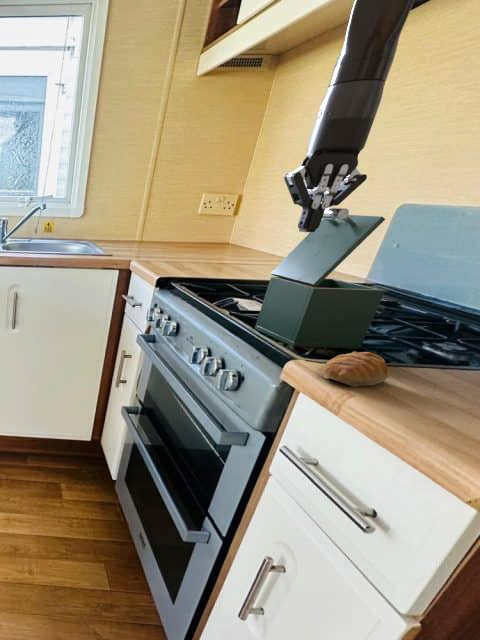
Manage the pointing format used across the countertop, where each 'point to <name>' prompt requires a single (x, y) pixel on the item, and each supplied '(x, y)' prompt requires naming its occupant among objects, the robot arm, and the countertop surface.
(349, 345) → the box
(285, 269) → the lid
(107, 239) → the countertop surface
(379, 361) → the pastry
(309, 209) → the robot arm
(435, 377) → the countertop surface
